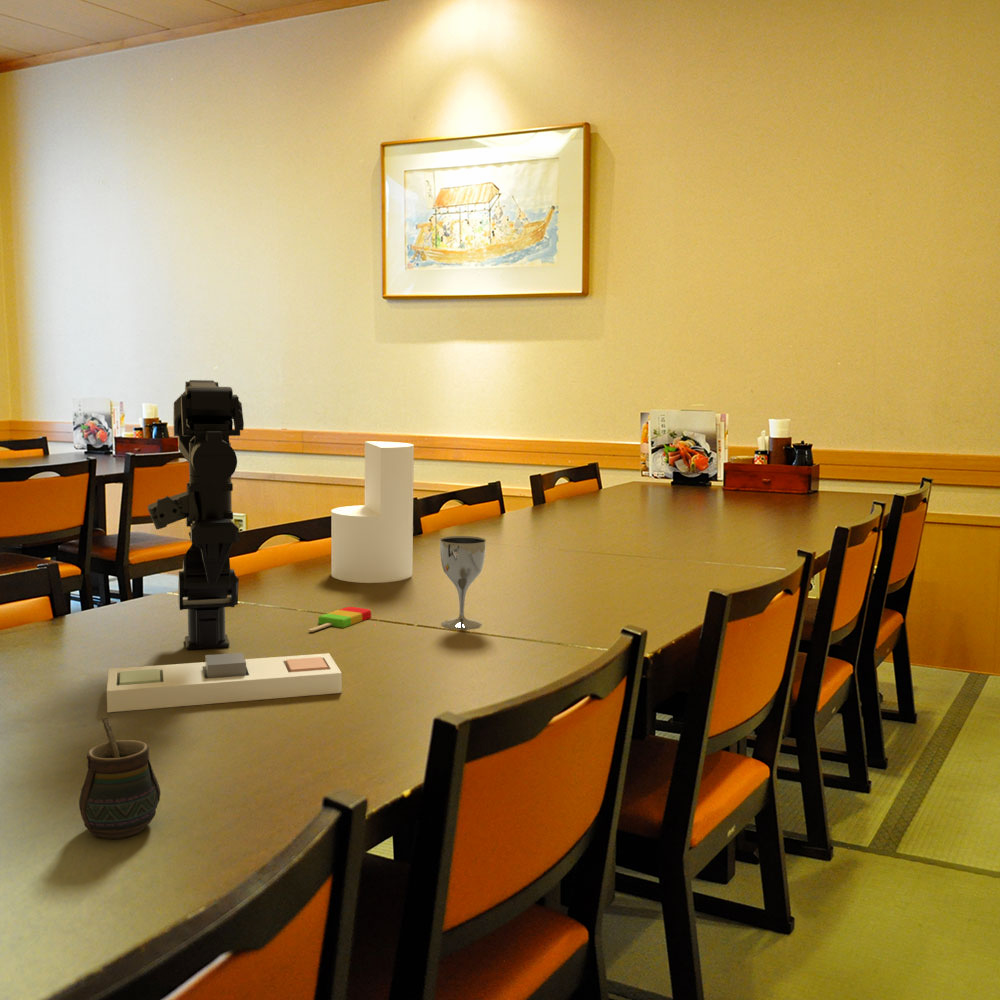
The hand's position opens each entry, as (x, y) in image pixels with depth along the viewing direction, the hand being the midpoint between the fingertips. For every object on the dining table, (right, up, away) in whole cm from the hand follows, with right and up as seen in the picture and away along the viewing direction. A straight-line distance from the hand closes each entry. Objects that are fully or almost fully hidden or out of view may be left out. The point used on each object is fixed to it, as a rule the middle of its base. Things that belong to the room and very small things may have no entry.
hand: (212, 583), depth 148 cm
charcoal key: (+4, -12, -8) cm, 15 cm away
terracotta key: (+14, -13, -4) cm, 20 cm away
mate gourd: (+5, -20, -49) cm, 53 cm away
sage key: (-6, -14, -11) cm, 19 cm away
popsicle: (+13, -10, +31) cm, 35 cm away
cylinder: (+14, -4, +73) cm, 74 cm away
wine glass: (+35, -10, +32) cm, 48 cm away
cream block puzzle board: (+4, -14, -7) cm, 16 cm away
